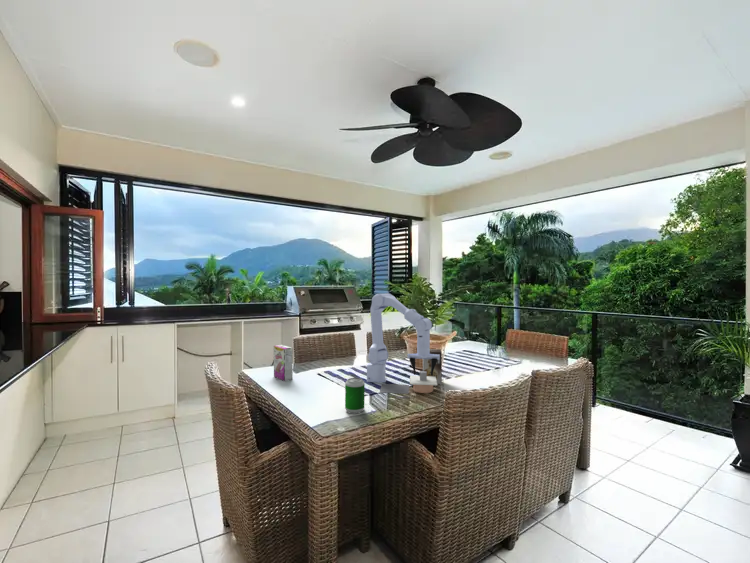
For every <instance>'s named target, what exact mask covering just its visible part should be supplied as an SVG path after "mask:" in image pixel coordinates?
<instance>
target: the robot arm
mask: <svg viewBox="0 0 750 563" xmlns="http://www.w3.org/2000/svg"><path fill="white" fill-rule="evenodd" d="M388 307H392V308H393V309H395V310H396V311H398V312H399V313H401V314H402V315H404V316H403V317H404V319H405V320H406V321H407V322H409V323H410V324H411V325H412V326H414V329H415V330H416V334H417V335H416V336H417V337H416V339H417V340H416V353H407V355H406V356H407V360H408V359H409V362H410V365H411V367H412V370H413V376H417V375H416V360H417V359H418V360H419V359H420V360H423V359H431V375H433V370H434V367H435V365H436V363H437V360H439V357H440V356H439V355H436V354H430V349H431V348H430V347H431V346H430V344H431V343H430V340H431V339H430V338H431V336H430V335H431V330H432V328H433V322H432V321H431V320H430V319H429V318H428V317H424V315H421V314H420V313H418V312H417V310H416V309H414V308H410V309H409V308H408V307H406V306H405V305H404V304H403V303H401V301H400V300H398V299H397V298H396V297H395V296H394V295H393V294H391V293H390V292H389V293H376V294H375V295H373V297H372V298H371V305H370V307H369V308H370V310H369V311H370V324H371V340H372V344H371V346H370V347H369V349H368V350H369V351H368V361H369V362H367V364H366V383H386V382H387V377H386V363H387V360H388V359H389V355H390V354H389V351H388V348H387V346H386V344H385V343H384V330H383V316H382V312H383V311H384V310H385V309H386V308H388Z"/></svg>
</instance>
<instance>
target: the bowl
mask: <svg viewBox="0 0 750 563" xmlns="http://www.w3.org/2000/svg"><path fill="white" fill-rule="evenodd" d="M412 385H413V384H412ZM412 388H413V389H412V390H413V392H416V393H420V394H428V393H432V392H434V385H413V387H412Z"/></svg>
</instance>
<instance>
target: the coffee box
mask: <svg viewBox="0 0 750 563" xmlns="http://www.w3.org/2000/svg"><path fill="white" fill-rule="evenodd" d="M430 354H436V355H439V356H440V357H439V360H437V363H436V365H435V367H434V370H433V375H431V359H422V371H426V372H427V376H434V377H436V381H437V385H439V386H440V385H441V386H442V385H443V377H442V376H443V375H442V373H443V371H442V367H443V364H442V361H443V360H442V357H443V356H442V355H443V354H442V349H434V348H433V349H432V348H430Z"/></svg>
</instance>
